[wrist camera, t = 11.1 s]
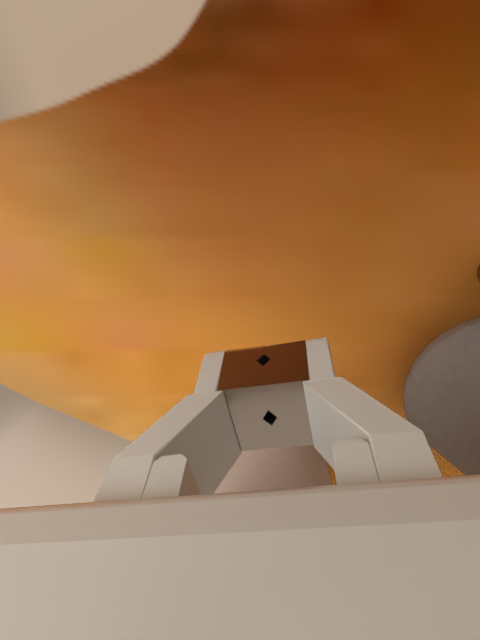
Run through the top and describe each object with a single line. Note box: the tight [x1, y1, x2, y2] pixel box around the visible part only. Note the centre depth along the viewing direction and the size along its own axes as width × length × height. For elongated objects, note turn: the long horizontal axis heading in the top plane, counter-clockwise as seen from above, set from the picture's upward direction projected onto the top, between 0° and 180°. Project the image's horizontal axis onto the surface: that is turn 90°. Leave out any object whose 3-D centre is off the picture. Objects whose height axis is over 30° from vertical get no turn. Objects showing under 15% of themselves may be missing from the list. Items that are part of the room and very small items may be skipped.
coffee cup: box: [213, 445, 332, 494], centre depth 25 cm, size 10×10×15 cm
